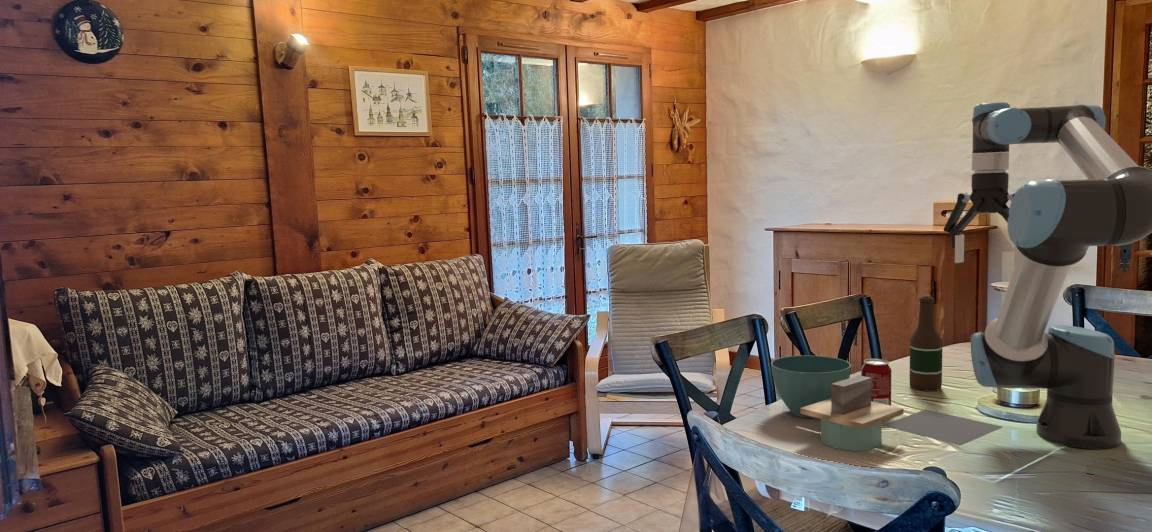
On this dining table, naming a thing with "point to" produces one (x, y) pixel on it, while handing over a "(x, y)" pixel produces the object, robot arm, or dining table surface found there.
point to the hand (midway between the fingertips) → (987, 264)
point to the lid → (852, 405)
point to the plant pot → (807, 379)
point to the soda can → (878, 379)
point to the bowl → (850, 436)
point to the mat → (942, 426)
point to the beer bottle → (926, 350)
